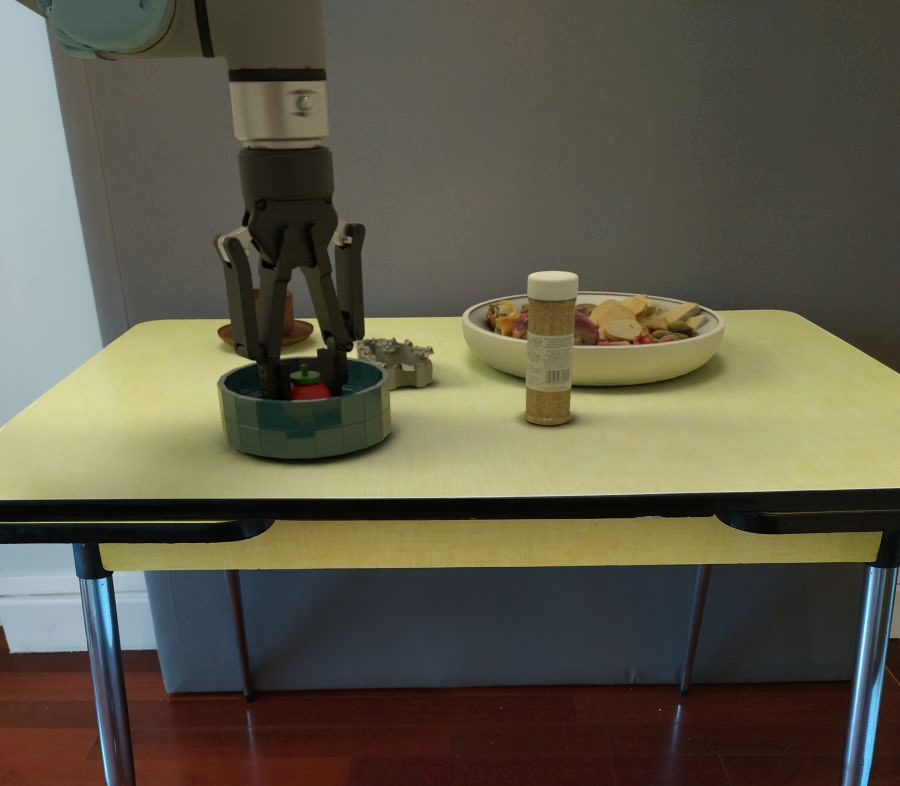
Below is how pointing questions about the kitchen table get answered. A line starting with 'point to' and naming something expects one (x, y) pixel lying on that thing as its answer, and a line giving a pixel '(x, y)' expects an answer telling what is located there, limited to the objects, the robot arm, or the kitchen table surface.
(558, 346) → the spice jar
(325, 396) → the tomato shaped ketchup bottle
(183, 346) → the kitchen table surface
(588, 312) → the bowl
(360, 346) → the egg carton
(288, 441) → the dessert bowl
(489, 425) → the kitchen table surface
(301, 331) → the cup and saucer
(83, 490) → the kitchen table surface
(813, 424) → the kitchen table surface
